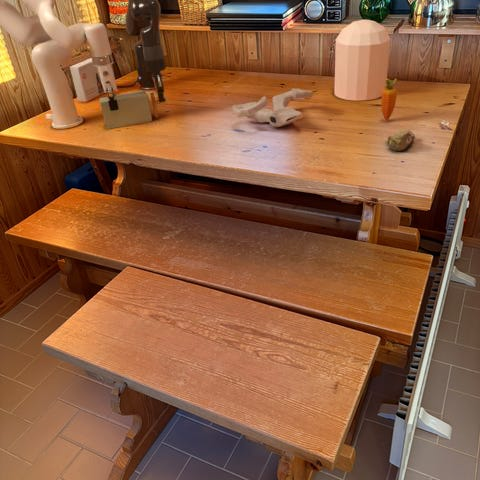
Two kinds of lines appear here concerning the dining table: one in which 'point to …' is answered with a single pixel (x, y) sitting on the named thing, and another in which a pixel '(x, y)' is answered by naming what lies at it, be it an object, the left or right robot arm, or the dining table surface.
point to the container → (361, 61)
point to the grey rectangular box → (126, 110)
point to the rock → (400, 140)
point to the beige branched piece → (280, 112)
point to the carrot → (388, 99)
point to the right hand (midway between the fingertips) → (162, 102)
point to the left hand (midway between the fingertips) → (114, 107)
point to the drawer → (156, 104)
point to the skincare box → (86, 80)
